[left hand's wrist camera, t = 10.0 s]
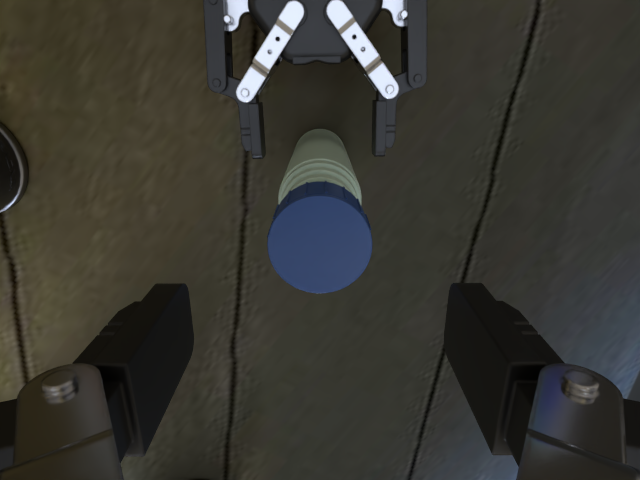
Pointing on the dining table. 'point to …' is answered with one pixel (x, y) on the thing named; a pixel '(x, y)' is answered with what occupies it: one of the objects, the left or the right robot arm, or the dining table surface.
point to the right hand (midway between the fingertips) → (319, 156)
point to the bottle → (319, 163)
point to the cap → (319, 238)
